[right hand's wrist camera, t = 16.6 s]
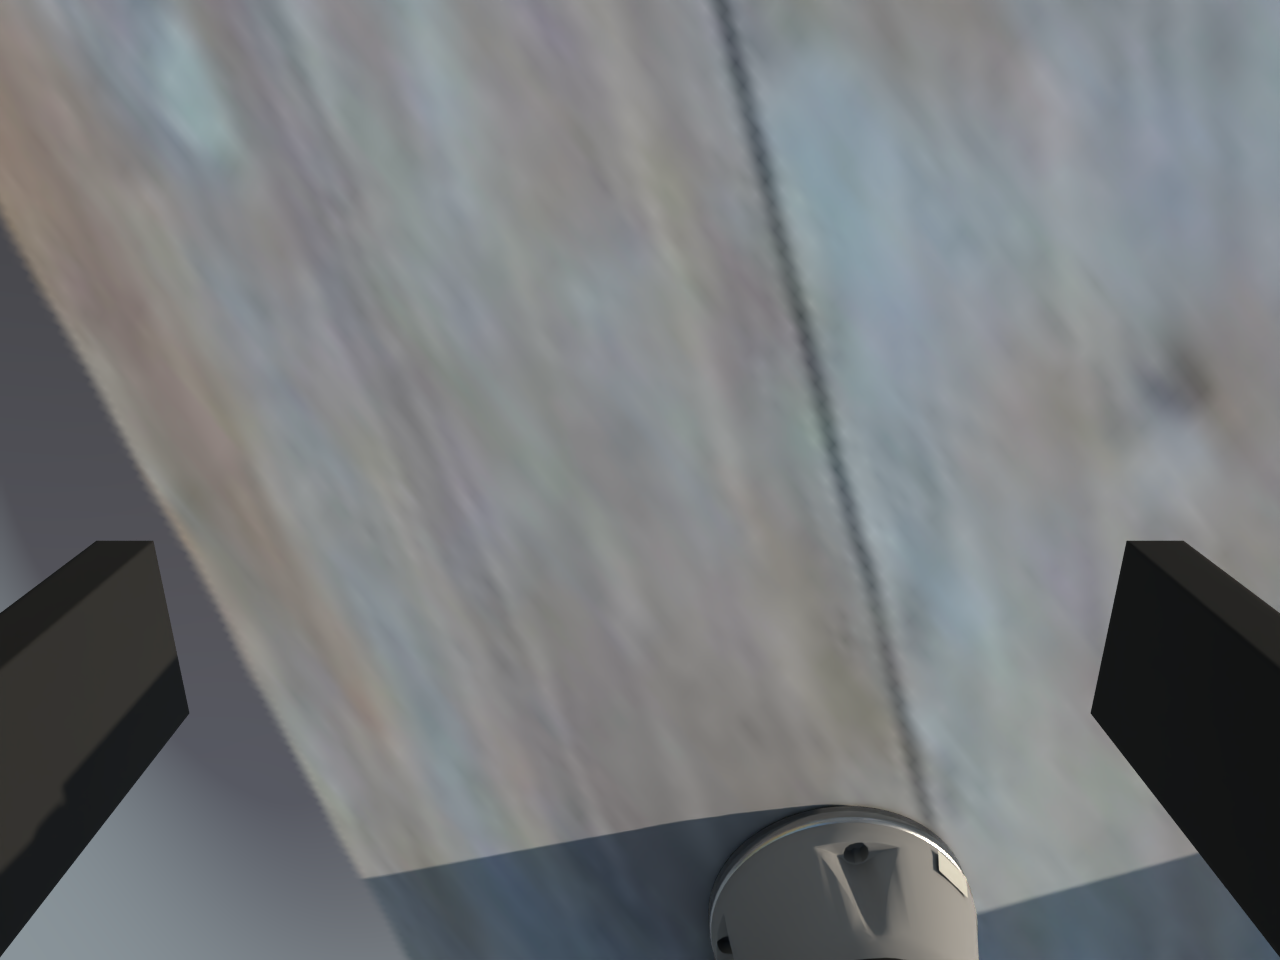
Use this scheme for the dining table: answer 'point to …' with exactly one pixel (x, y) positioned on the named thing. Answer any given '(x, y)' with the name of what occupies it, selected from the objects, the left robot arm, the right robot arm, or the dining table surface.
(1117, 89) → the dining table surface
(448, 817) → the dining table surface
